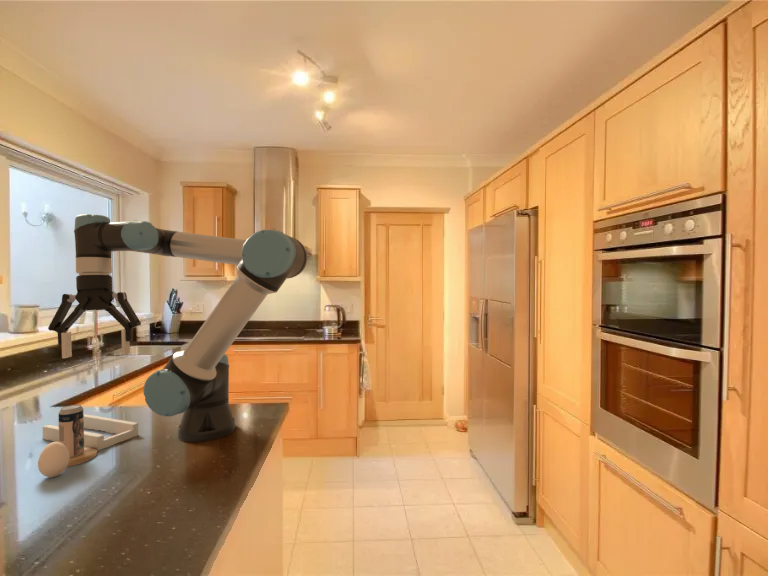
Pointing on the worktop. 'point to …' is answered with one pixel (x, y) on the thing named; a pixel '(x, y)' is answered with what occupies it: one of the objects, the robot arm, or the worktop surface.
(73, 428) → the beer can
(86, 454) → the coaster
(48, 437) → the beige u-shaped bracket
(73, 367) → the worktop surface
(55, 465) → the egg
